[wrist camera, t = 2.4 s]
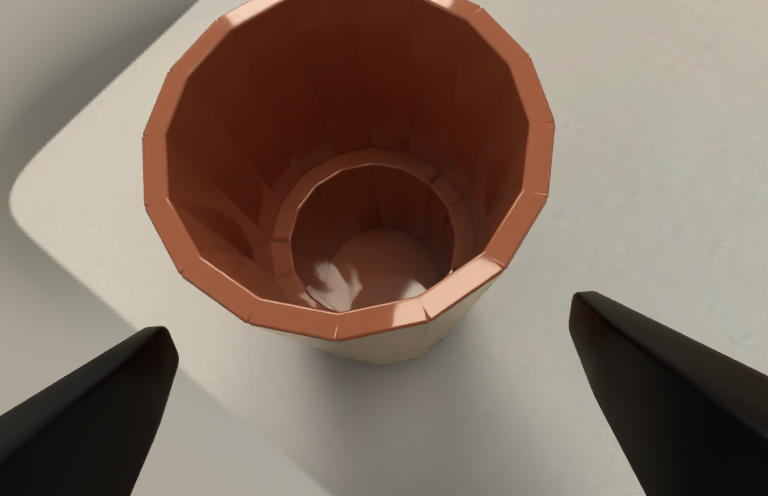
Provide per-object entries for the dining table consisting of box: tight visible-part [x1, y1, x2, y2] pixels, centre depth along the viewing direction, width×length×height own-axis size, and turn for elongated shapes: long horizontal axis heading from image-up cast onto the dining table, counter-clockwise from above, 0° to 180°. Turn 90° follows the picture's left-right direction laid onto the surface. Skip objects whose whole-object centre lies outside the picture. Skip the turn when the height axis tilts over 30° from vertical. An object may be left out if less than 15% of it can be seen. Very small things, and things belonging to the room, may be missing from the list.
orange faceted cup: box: [142, 0, 555, 365], centre depth 14 cm, size 7×7×13 cm
